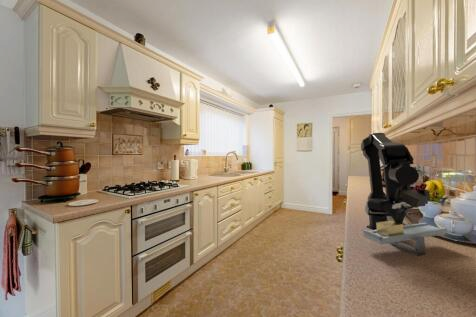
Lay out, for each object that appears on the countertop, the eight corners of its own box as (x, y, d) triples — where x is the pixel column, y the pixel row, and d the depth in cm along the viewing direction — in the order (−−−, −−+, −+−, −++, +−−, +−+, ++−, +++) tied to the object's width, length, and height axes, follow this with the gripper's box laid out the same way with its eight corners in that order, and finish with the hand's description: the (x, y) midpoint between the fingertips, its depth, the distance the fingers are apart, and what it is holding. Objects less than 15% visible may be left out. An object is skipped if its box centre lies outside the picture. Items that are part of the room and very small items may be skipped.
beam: (363, 237, 71) (362, 229, 71) (424, 228, 76) (423, 220, 76) (382, 246, 64) (381, 237, 64) (449, 235, 68) (448, 227, 68)
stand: (388, 242, 75) (387, 227, 75) (394, 242, 75) (393, 227, 75) (419, 255, 64) (418, 238, 64) (425, 254, 65) (424, 237, 65)
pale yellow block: (377, 232, 70) (376, 222, 70) (391, 230, 71) (390, 220, 72) (388, 237, 66) (387, 226, 66) (403, 235, 67) (403, 224, 67)
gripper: (394, 186, 60) (400, 239, 60) (444, 180, 64) (449, 230, 63) (364, 183, 71) (368, 228, 71) (408, 178, 75) (412, 220, 74)
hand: (399, 227), depth 69 cm, fingers closed
